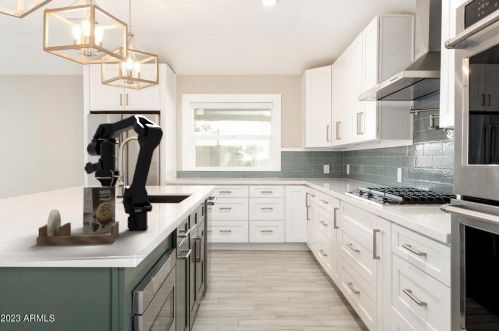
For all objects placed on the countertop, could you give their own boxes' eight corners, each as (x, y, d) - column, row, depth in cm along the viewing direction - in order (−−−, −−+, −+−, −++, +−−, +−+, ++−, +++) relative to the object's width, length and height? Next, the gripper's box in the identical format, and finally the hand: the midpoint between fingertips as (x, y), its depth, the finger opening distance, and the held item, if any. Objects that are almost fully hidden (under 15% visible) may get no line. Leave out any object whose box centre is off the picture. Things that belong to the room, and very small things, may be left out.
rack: (118, 236, 121) (118, 206, 121) (113, 243, 111) (113, 210, 111) (49, 238, 117) (49, 207, 117) (36, 245, 107) (36, 212, 107)
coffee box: (93, 235, 123) (93, 187, 123) (82, 233, 126) (82, 187, 126) (116, 230, 131) (116, 186, 131) (104, 229, 134) (104, 185, 134)
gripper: (92, 156, 152) (92, 193, 152) (80, 155, 133) (80, 197, 133) (119, 156, 154) (120, 192, 154) (111, 155, 135) (112, 196, 136)
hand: (108, 194), depth 144 cm, fingers open, 9 cm apart
